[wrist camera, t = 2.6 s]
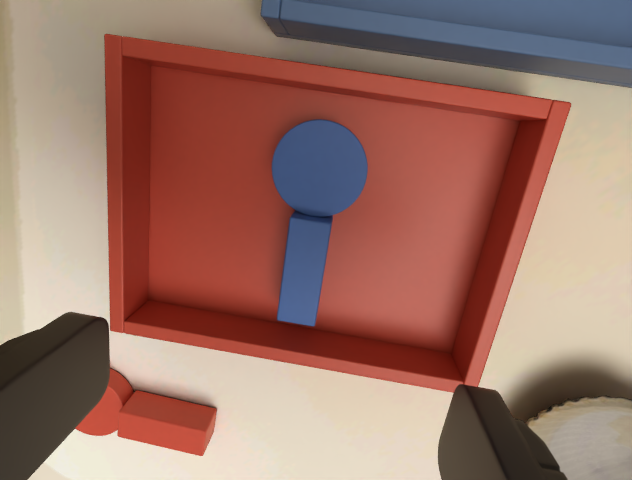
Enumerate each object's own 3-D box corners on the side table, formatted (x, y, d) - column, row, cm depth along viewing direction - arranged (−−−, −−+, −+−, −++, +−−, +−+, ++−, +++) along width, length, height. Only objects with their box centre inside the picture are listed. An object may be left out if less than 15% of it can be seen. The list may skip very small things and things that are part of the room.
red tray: (142, 303, 18) (109, 331, 15) (145, 49, 15) (103, 33, 12) (457, 359, 17) (475, 397, 15) (533, 107, 14) (573, 102, 12)
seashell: (492, 365, 19) (501, 514, 19) (505, 391, 16) (515, 566, 17) (690, 370, 17) (696, 539, 17) (746, 403, 14) (752, 606, 14)
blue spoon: (282, 113, 14) (273, 111, 13) (374, 127, 14) (377, 127, 13) (261, 299, 17) (252, 316, 15) (340, 313, 16) (339, 332, 15)
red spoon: (70, 413, 20) (47, 436, 19) (70, 358, 19) (46, 377, 18) (211, 446, 20) (200, 472, 18) (219, 392, 19) (208, 415, 17)
